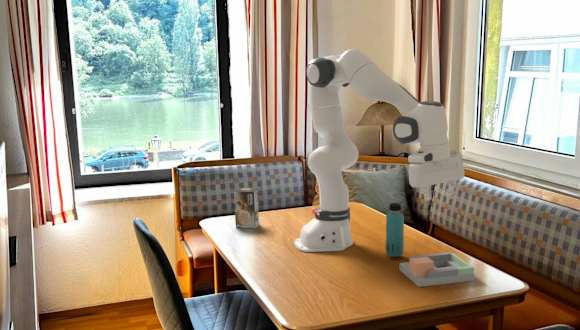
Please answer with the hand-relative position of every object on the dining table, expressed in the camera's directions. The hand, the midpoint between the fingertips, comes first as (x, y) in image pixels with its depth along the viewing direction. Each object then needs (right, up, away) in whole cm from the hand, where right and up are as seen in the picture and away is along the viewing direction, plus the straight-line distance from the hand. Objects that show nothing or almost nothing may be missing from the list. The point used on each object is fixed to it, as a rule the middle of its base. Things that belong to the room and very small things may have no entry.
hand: (439, 197), depth 184 cm
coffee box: (-65, -16, +69) cm, 96 cm away
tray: (+1, -26, +11) cm, 28 cm away
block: (-4, -25, +6) cm, 26 cm away
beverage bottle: (-9, -23, +28) cm, 37 cm away
